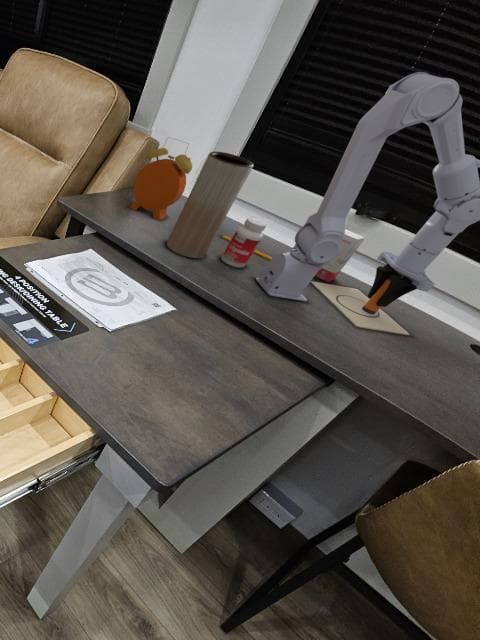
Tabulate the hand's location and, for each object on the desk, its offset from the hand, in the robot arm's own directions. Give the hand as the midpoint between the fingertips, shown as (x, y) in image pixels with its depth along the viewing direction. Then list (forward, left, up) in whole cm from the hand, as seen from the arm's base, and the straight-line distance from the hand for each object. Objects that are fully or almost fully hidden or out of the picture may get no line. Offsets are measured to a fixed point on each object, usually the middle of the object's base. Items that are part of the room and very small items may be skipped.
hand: (376, 301), depth 106 cm
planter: (-40, +19, -3) cm, 44 cm away
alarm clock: (-44, +43, -3) cm, 61 cm away
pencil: (-18, +26, -3) cm, 31 cm away
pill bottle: (-28, +16, -3) cm, 32 cm away
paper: (-2, +2, -3) cm, 4 cm away
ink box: (-4, +18, -3) cm, 18 cm away
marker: (0, 0, -3) cm, 3 cm away
